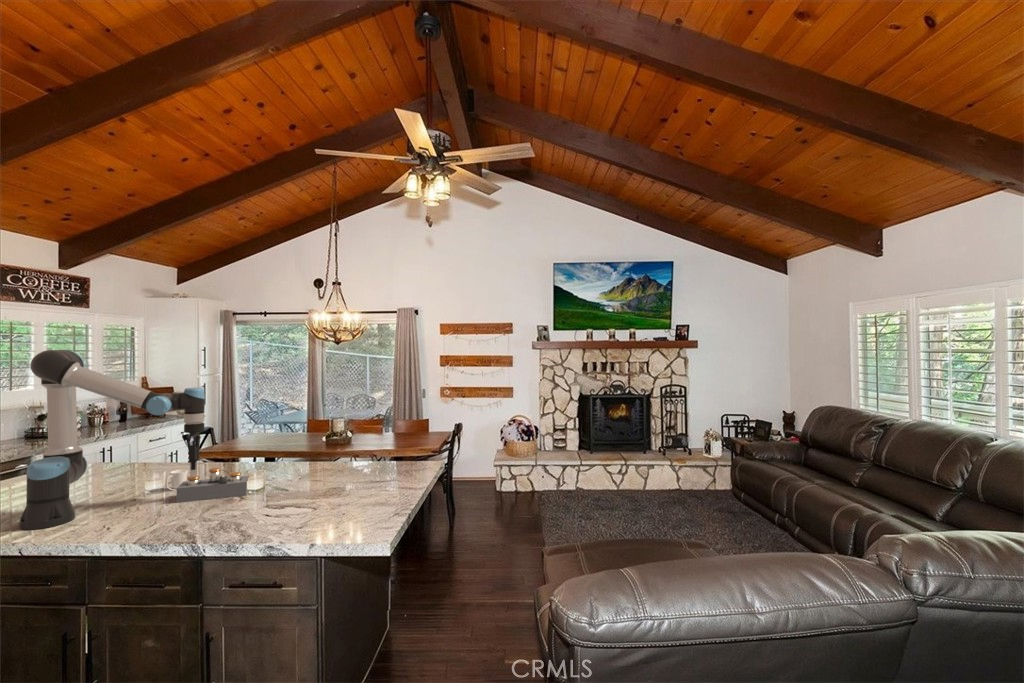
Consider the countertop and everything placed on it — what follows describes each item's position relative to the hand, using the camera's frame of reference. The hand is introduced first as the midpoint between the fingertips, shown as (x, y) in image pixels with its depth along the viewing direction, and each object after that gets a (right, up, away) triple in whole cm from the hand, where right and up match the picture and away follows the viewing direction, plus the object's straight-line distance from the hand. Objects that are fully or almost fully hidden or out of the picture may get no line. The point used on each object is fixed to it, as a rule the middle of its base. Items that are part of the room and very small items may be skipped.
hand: (193, 476), depth 212 cm
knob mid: (+7, -4, +3) cm, 9 cm away
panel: (+7, -9, +3) cm, 12 cm away
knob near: (0, -7, 0) cm, 7 cm away
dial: (+13, -3, +1) cm, 13 cm away
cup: (-16, -10, +12) cm, 22 cm away
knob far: (+15, -7, +6) cm, 17 cm away
